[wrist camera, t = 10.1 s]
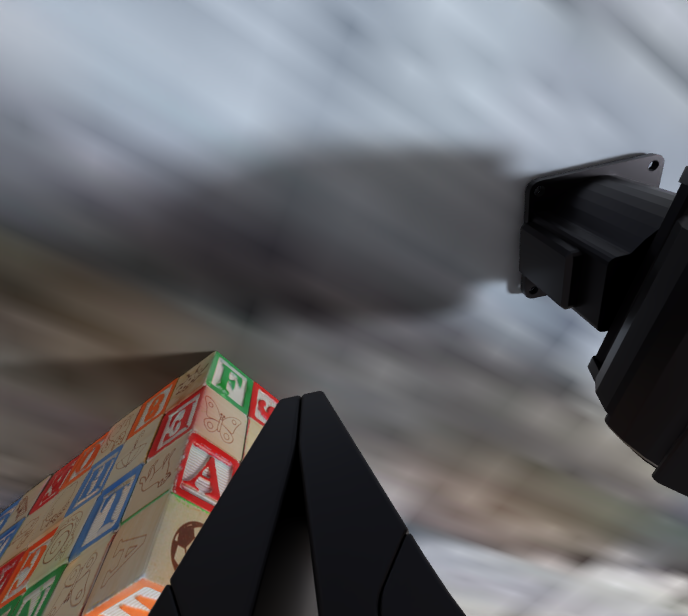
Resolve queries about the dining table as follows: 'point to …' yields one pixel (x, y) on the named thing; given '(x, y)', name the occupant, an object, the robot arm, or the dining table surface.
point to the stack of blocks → (130, 500)
